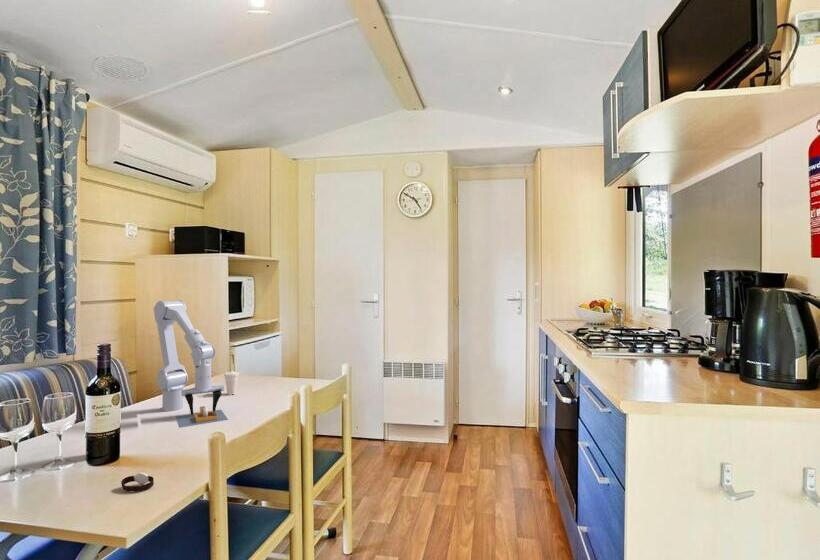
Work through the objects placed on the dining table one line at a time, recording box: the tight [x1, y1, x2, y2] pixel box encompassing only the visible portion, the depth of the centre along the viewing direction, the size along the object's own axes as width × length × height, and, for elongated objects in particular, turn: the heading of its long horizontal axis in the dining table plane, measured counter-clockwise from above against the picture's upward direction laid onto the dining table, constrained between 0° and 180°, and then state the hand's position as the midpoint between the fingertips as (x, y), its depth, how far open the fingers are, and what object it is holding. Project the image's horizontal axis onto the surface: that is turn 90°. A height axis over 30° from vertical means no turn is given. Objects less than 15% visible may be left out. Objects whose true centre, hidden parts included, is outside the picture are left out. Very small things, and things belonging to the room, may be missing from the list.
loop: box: [193, 405, 217, 423], centre depth 163 cm, size 12×7×2 cm, turn 33°
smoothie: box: [223, 363, 240, 396], centre depth 200 cm, size 6×6×14 cm
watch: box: [120, 471, 155, 492], centre depth 109 cm, size 8×5×4 cm, turn 89°
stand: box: [175, 406, 229, 429], centre depth 162 cm, size 15×16×5 cm
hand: (203, 412), depth 166 cm, fingers open, 7 cm apart
